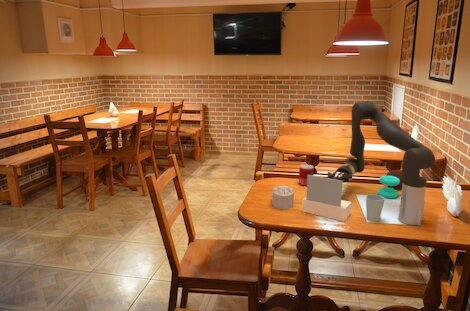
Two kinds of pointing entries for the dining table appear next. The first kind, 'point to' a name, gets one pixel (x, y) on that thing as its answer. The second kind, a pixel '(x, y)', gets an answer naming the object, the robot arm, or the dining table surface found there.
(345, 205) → the carton
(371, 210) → the cup
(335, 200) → the flap
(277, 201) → the paw print tray
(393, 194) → the pair of teal discs
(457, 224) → the dining table surface
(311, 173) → the canned food
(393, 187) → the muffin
